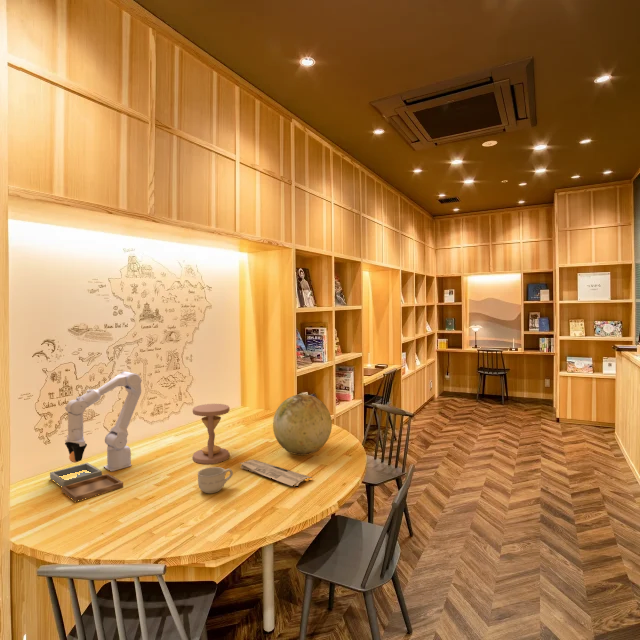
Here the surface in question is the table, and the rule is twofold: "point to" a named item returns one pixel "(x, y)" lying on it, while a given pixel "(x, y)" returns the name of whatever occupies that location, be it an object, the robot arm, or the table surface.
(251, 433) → the table surface
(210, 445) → the hourglass
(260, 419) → the table surface
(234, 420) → the table surface
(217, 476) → the teacup
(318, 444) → the olive sphere
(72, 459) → the ball
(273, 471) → the newspaper
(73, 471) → the dish
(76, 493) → the tray
